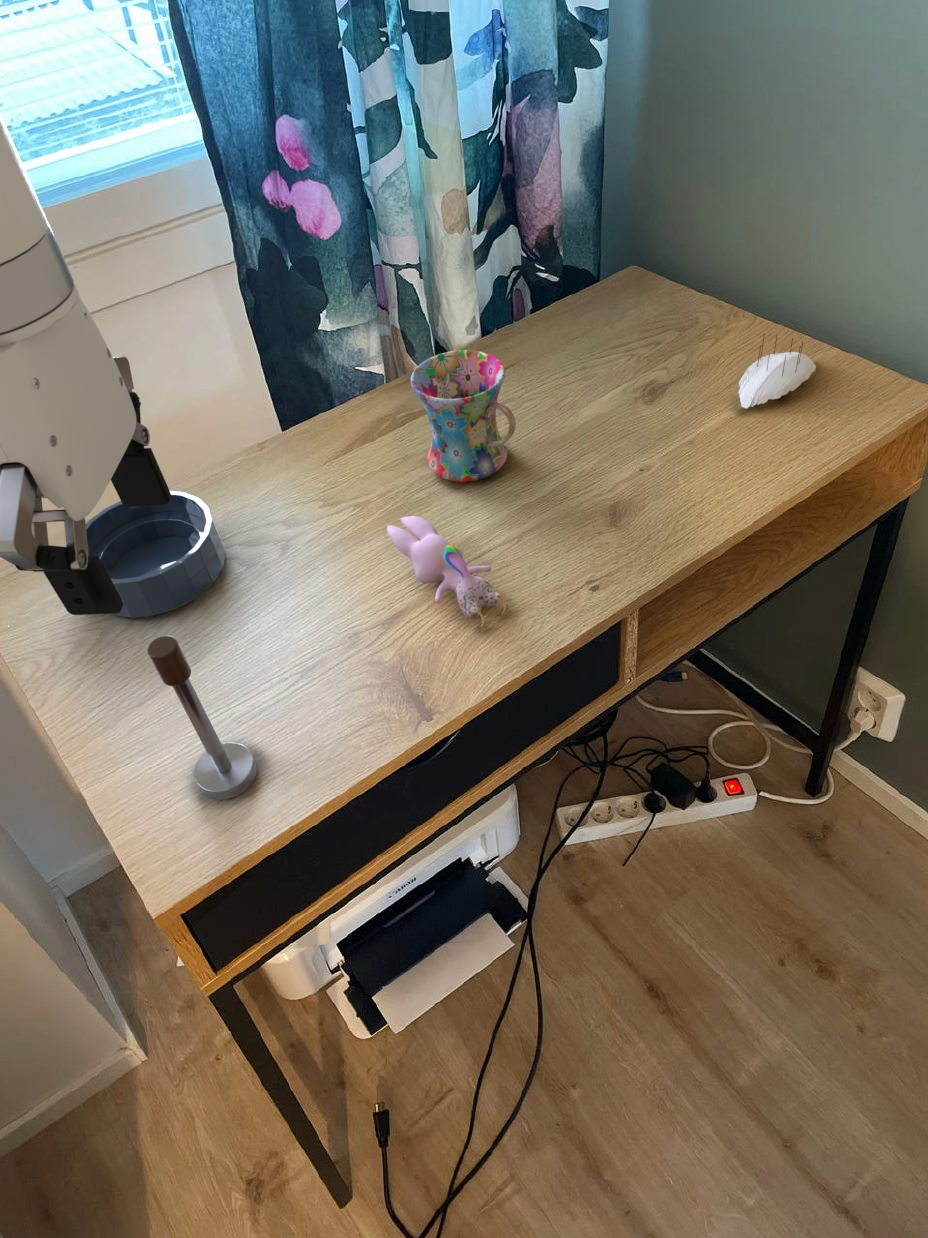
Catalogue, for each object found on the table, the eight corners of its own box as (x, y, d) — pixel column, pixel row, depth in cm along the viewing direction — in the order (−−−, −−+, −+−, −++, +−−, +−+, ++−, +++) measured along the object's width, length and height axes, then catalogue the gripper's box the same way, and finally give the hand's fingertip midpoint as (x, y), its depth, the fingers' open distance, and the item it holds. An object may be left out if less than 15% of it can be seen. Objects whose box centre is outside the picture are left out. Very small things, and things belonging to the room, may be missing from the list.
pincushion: (783, 354, 103) (790, 308, 99) (831, 371, 100) (841, 324, 96) (719, 400, 98) (725, 353, 94) (768, 420, 95) (775, 372, 91)
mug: (407, 467, 96) (391, 379, 88) (468, 427, 100) (458, 340, 92) (486, 512, 89) (476, 421, 81) (549, 467, 93) (545, 376, 85)
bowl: (156, 640, 81) (135, 601, 78) (64, 593, 87) (41, 555, 84) (254, 553, 88) (240, 514, 85) (163, 515, 94) (146, 476, 91)
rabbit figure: (522, 614, 81) (421, 519, 88) (526, 571, 76) (419, 474, 83) (469, 650, 78) (369, 549, 85) (469, 608, 73) (363, 505, 80)
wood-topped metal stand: (228, 810, 68) (160, 682, 57) (186, 784, 70) (112, 656, 59) (269, 765, 70) (210, 635, 59) (227, 742, 72) (163, 612, 61)
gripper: (-11, 216, 49) (112, 470, 61) (-187, 390, 37) (10, 663, 49) (120, 203, 48) (218, 464, 60) (-17, 378, 36) (140, 658, 48)
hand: (124, 553), depth 55 cm, fingers open, 9 cm apart
